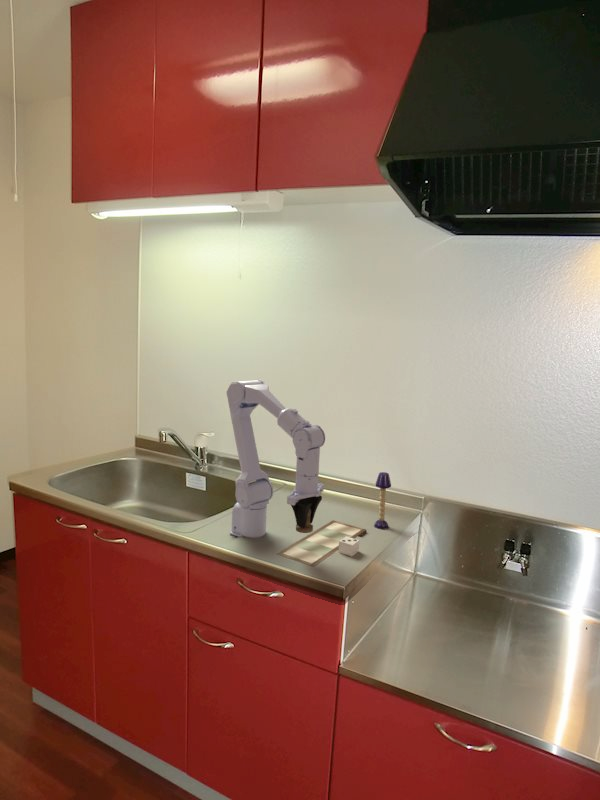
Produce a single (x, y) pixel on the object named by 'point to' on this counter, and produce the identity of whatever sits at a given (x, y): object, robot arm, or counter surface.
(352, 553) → the die
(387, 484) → the toy lamp
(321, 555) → the game board
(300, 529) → the pawn
